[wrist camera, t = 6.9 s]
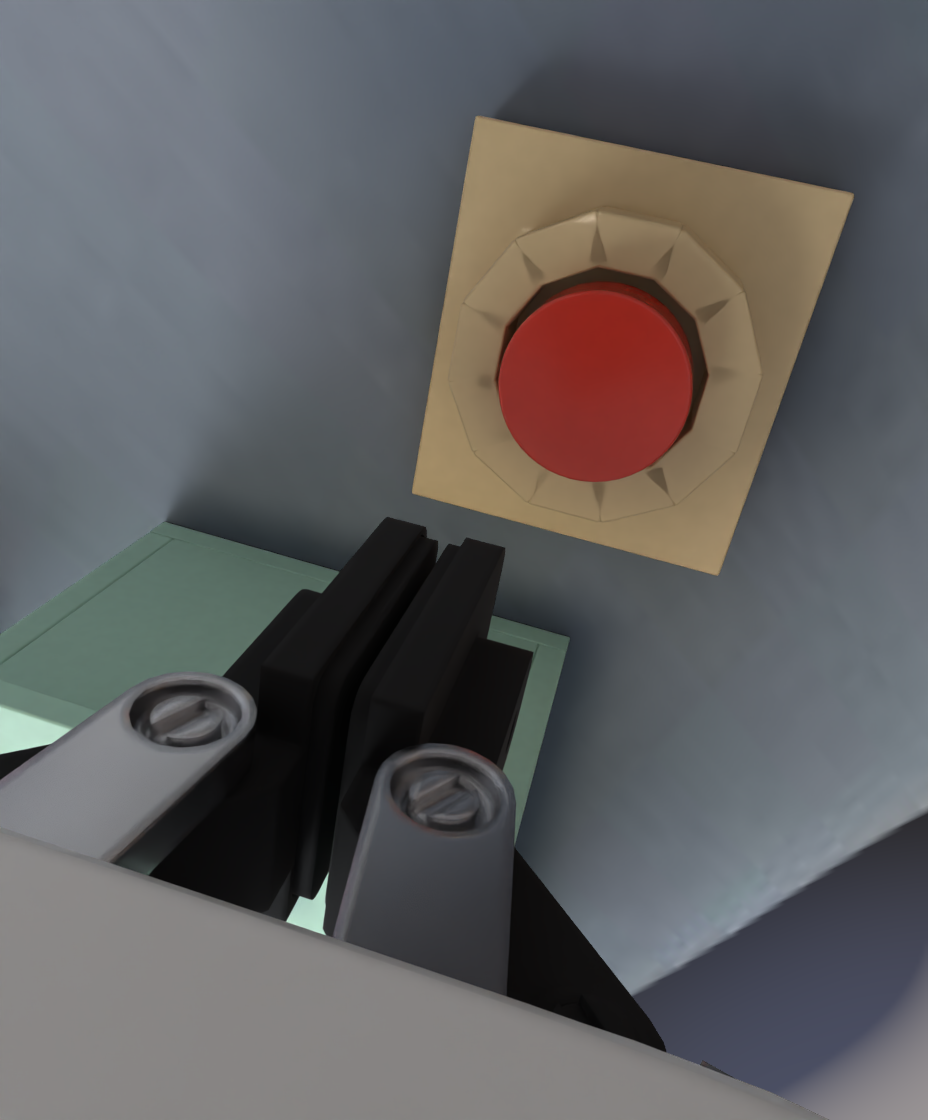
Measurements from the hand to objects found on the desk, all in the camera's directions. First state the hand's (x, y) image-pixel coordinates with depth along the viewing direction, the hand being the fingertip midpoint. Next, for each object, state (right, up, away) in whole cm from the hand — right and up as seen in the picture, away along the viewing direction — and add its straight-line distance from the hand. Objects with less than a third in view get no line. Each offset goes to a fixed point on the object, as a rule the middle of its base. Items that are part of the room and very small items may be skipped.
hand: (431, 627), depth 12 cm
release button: (+4, +5, +9) cm, 12 cm away
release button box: (+5, +7, +12) cm, 15 cm away
